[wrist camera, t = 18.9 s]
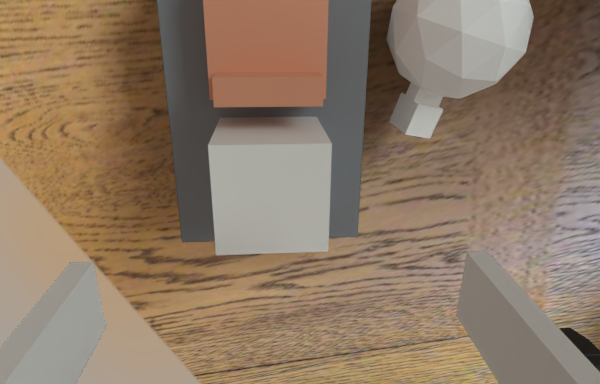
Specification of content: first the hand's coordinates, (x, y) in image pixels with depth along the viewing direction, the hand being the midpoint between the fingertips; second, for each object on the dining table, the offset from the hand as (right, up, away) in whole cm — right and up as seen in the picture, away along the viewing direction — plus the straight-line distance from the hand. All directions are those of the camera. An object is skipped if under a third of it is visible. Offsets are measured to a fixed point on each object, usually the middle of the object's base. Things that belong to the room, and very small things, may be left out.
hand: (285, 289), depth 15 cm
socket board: (-2, +10, +18) cm, 21 cm away
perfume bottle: (+10, +15, +18) cm, 25 cm away
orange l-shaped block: (-1, +13, +11) cm, 17 cm away
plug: (-2, +7, +18) cm, 20 cm away
